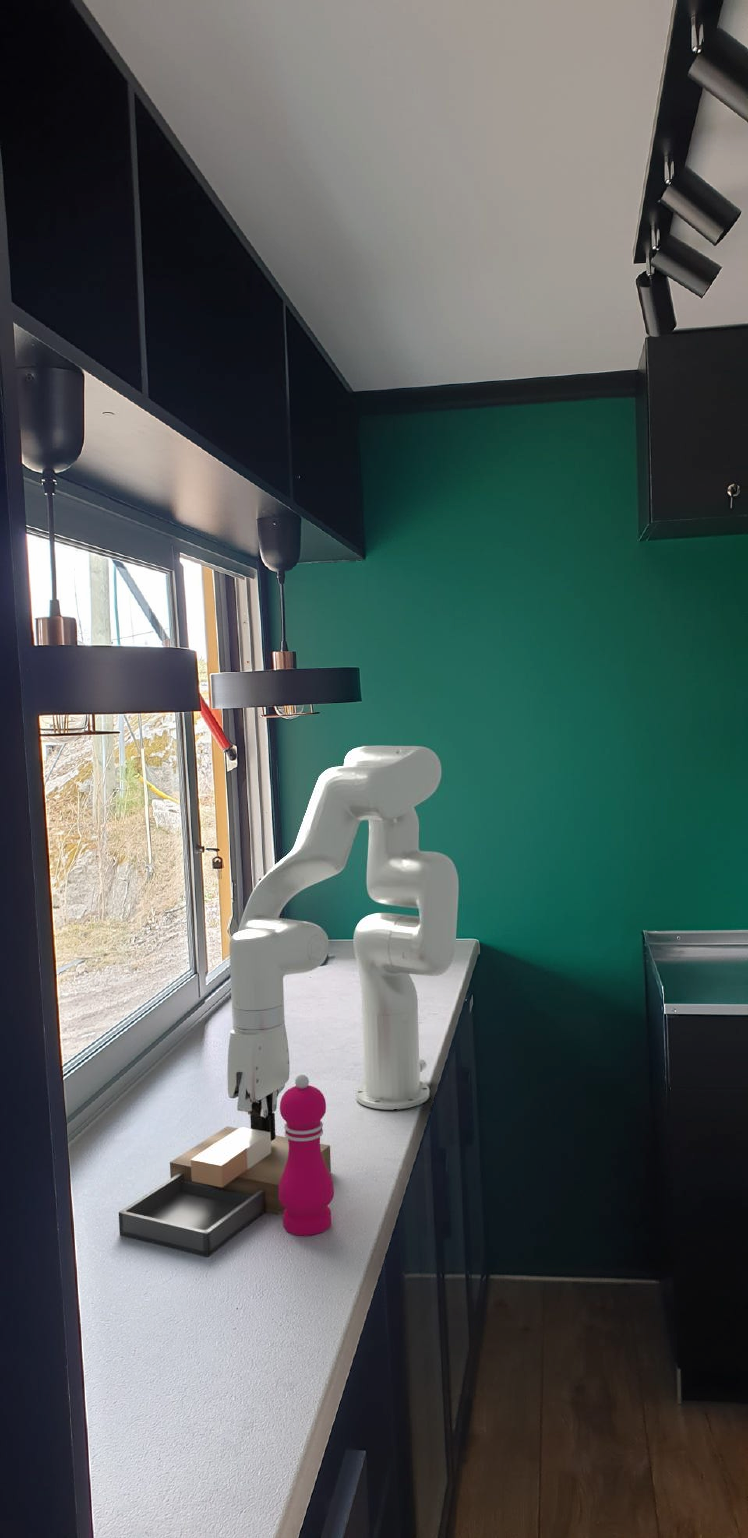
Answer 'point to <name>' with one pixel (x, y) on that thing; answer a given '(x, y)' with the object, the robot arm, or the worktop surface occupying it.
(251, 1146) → the tile cream
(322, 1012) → the worktop surface
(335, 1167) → the worktop surface
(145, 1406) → the worktop surface
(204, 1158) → the tan rectangular block
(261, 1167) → the walnut block
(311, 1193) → the pepper mill
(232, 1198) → the bin
